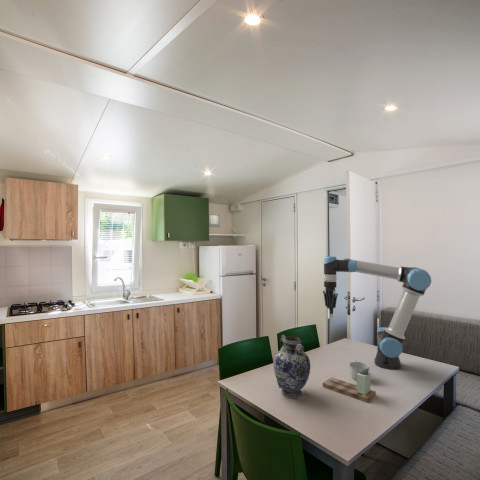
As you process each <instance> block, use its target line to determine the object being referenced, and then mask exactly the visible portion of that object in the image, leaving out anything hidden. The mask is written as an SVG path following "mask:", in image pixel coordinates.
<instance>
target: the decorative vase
mask: <svg viewBox="0 0 480 480" xmlns="http://www.w3.org/2000/svg"><path fill="white" fill-rule="evenodd" d="M280 337H281V338H280V343H281V345H282V347H281V348H280V350H279V351H277V352H276V353H275V356H274V358H273V372H274V375H275V378H276V382H277V386H278V389H281V390H280V391H281V395H283V396H284V397H286V398H288V399H297V398H301V397H302V396H303V391H302V389H303V388H304V387H305V386H306V384H307V382H308V380H309V378H310V373H311V361H310V357H309V356H308V354H307V353H306V352H305V348H304V345H302V344H303V341H302V340H301V338H300V337H297V336H286V335H285V334H282V335H281V336H280Z"/></svg>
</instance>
